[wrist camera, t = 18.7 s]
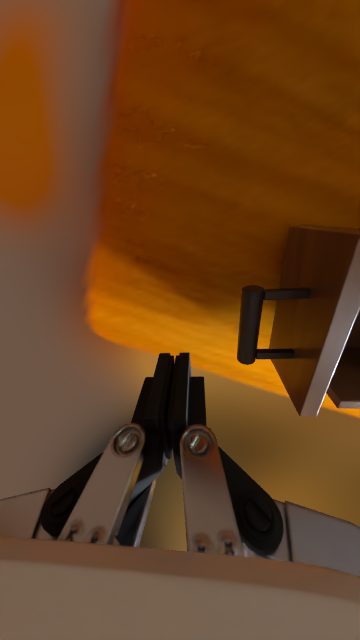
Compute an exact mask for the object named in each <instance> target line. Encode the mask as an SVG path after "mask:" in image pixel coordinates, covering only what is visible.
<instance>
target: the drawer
mask: <svg viewBox="0 0 360 640" xmlns="http://www.w3.org/2000/svg"><path fill="white" fill-rule="evenodd" d="M263 299H264V300H277V304H276V310H275V316H274V322H273V328H272V334H271V340H270V346H269V349H257V343H258V335H259V328H260V320H261V312H262V305H263ZM255 358H256V359H271V361H272V363H273V365H274V367H275V369H276V371H277V372H278V374H279V376H280V378H281V380H282V382H283V384H284V386H285V388H286V390H287V392H288V394H289V396H290V398H291V400H292V402H293V404H294V406H295V408H296V410H297V412H298V414H299V416H314V417H316V416H317V414H318V411H319V409H320V406H321V404H322V401H323V399H324V396H325V394H326V393H327V394H328V396H329V397H330V399H331V400H332V401H333V403H334V404H335V405H336V407H337V408H358V409H360V229H349V228H337V227H325V226H314V225H298V226H290V227H289V233H288V239H287V245H286V251H285V257H284V263H283V269H282V275H281V281H280V287H279V289H264V288H263V287H261V286H256V285H249V286H245V287H243V288H242V294H241V308H240V322H239V336H238V350H237V359H238V361H239V362H240V363H242V364H246V365H249V364H253V363H254V362H255Z"/></svg>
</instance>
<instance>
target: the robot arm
mask: <svg viewBox="0 0 360 640" xmlns="http://www.w3.org/2000/svg"><path fill="white" fill-rule="evenodd" d="M205 409H206V408H205V389H204V377H191V364H190V353H180V354H179V355H178V356H176V359H175V363H174V356H170V353H160V354H159V358H158V362H157V365H156V370H155V373H154V377H146V378H145V380H144V384H143V387H142V390H141V393H140V396H139V399H138V402H137V405H136V409H135V412H134V415H133V418H132V421H131V423H129V424H125V425H124V426H122V427H120V428H119V429H118V430H117V431H116V432H115V433H114V434H113V436H112V437H111V439H110V441H109V443H108V445H107V447H106V449H105V451H104V452H103V453H101V454H100V455H98V456H97V457H96V458H95V459H93V460H92V461H91V462H89V463H88V464H87V465H85V466H84V467H83V468H82V469H80V470H79V471H77V472H76V473H75V474H74V475H72V476H71V477H70V478H68V479H67V480H66V481H64V482H63V483H62V484H60V485H59V486H58V487H57V488H56V489H53V490H51V489H50V488H46V489H42V490H38V491H34V492H30V493H26V494H21V495H17V496H13V497H9V498H5V499H0V640H360V527H359V526H357V525H355V524H353V523H351V522H349V521H345V520H342V519H339V518H336V517H333V516H330V515H327V514H324V513H321V512H318V511H315V510H312V509H309V508H306V507H303V506H300V505H297V504H294V503H291V502H288V501H285V503H284V502H280V501H277V500H275V499H272V498H271V497H270V496H269V495H268V494H267V493H266V492H265V491H264V490H263V489H262V488H261V487H260V486H259V485H258V484H257V483H256V482H255V481H254V480H253V479H252V478H251V477H250V476H249V475H248V474H247V473H246V472H245V471H243V469H242V468H241V467H239V466H238V465H237V464H236V463H235V462H234V461H233V460H232V459H231V458H230V457H229V456H228V455H227V454H226V453H225V452H224V451H223V450H222V449H221V448H220V447H219V446H218V444H217V440H216V437H215V434H214V433H213V432H212V430H211V429H210V428H208V427H207V426H206V410H205ZM172 450H173V454H174V460H175V465H176V470H177V473H178V475H179V476H180V478H181V479H182V483H183V496H184V511H185V525H186V539H187V551H186V552H185V551H176V550H163V549H152V548H140V547H139V543H140V539H141V536H142V532H143V528H144V524H145V521H146V517H147V513H148V510H149V506H150V503H151V499H152V495H153V492H154V488H155V484H156V478H157V477H158V475H160V474H161V473H162V470H163V466H167V459H171V457H172Z"/></svg>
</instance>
